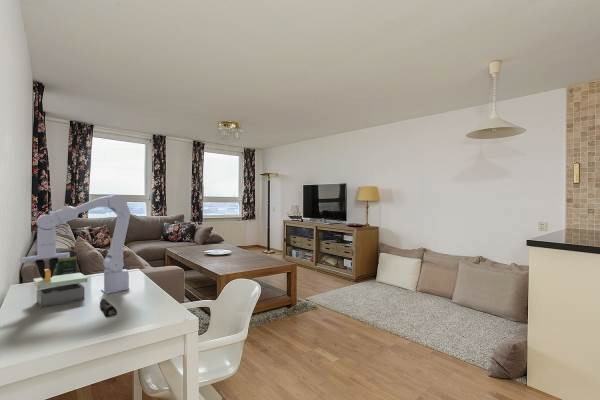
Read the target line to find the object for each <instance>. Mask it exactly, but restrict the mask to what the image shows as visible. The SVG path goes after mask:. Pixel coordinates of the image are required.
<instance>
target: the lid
mask: <svg viewBox="0 0 600 400" xmlns="http://www.w3.org/2000/svg"><path fill="white" fill-rule="evenodd" d="M44 271H45V279H42V277H36V278H33V282H32V284H34V286H35V288H36V290H38V289H44V288H50V287H56V286H63V285H70V284H76V283H80V284H82V283H87V282H88V277H87V276H86V275H84V274H83V273H81V272H77V273H74V274H66V275H58V276H55V275H52V278H51V271H50V270H49V268H45V269H44Z"/></svg>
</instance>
